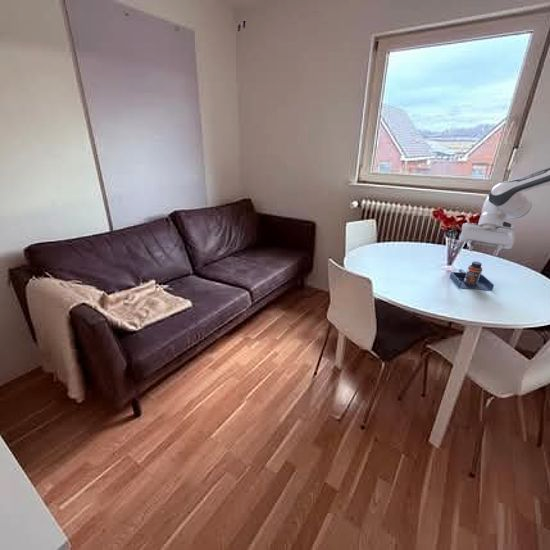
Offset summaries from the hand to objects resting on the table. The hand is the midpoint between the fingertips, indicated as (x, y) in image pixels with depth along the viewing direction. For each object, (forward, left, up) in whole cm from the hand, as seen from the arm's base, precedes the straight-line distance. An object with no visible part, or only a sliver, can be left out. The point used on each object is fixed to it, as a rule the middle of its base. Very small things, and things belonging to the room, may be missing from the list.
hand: (482, 252), depth 135 cm
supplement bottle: (+4, -13, -21) cm, 25 cm away
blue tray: (+6, -16, -21) cm, 27 cm away
